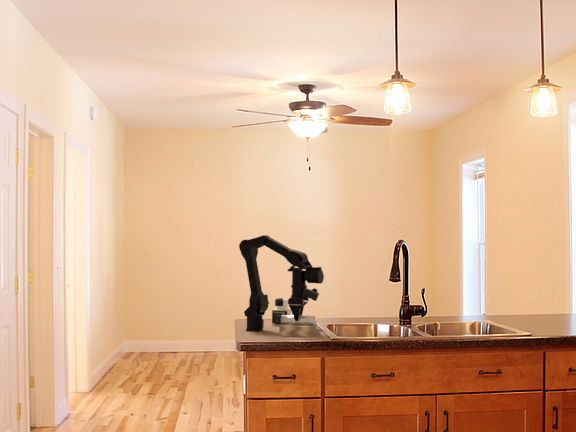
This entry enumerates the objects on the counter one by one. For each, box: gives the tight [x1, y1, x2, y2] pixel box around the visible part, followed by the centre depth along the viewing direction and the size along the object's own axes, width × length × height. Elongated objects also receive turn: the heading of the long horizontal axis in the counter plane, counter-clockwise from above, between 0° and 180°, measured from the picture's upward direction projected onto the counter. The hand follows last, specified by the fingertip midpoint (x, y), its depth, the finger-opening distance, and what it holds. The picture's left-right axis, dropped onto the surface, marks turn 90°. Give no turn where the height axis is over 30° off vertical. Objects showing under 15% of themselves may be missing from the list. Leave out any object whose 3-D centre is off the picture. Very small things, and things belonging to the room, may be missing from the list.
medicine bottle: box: [271, 297, 292, 326], centre depth 316 cm, size 7×7×12 cm
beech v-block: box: [278, 323, 317, 338], centre depth 286 cm, size 14×11×4 cm
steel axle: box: [281, 314, 316, 327], centre depth 286 cm, size 14×4×4 cm, turn 81°
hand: (298, 319), depth 286 cm, fingers open, 9 cm apart
